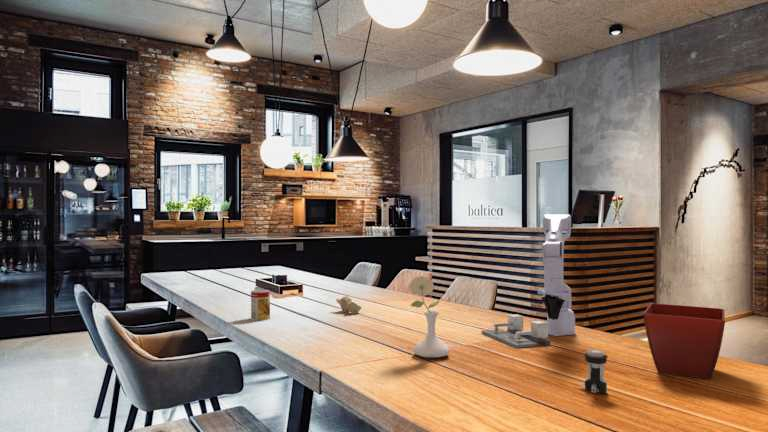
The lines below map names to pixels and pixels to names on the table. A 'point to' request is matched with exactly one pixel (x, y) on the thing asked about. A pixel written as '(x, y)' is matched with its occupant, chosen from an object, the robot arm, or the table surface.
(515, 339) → the bolt hole plate
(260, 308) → the canned food
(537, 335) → the sliding divider leg
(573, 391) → the table surface
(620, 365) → the table surface
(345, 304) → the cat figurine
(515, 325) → the fixed divider leg
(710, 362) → the plant pot
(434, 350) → the flower in vase
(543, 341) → the bar
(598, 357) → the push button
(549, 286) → the robot arm
